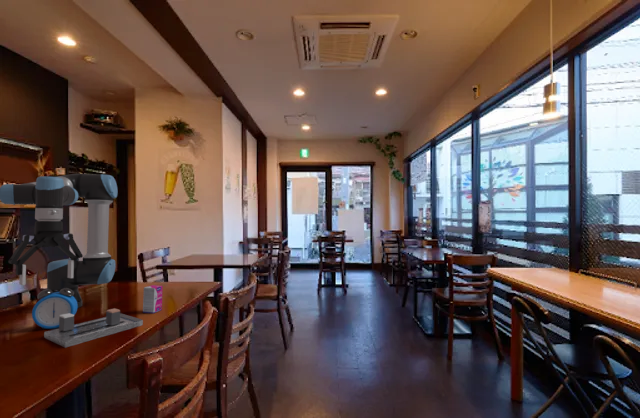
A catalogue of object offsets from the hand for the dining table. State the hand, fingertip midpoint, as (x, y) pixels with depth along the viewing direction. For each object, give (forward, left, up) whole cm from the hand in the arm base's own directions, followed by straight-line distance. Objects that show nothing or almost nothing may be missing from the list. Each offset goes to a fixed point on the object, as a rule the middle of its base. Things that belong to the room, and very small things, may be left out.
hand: (47, 281), depth 113 cm
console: (+4, +14, -21) cm, 25 cm away
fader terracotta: (+8, +18, -19) cm, 27 cm away
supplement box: (-2, +40, -21) cm, 45 cm away
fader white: (0, +6, -18) cm, 19 cm away
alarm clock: (-15, +8, -21) cm, 27 cm away
